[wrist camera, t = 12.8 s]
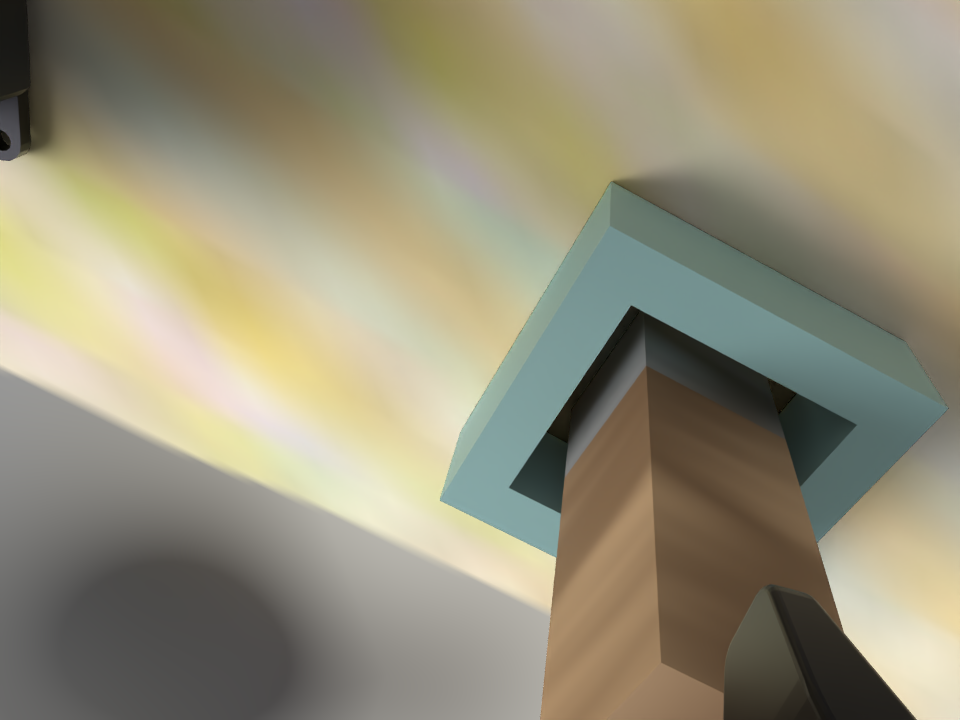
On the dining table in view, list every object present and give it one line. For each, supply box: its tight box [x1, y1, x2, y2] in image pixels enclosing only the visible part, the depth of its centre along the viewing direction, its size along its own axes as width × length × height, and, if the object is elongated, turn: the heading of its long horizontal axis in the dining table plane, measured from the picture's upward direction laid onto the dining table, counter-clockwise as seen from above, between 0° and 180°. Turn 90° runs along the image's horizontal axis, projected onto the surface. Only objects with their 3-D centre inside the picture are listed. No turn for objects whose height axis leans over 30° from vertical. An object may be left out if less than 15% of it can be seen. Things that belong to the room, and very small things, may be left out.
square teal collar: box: [440, 182, 949, 558], centre depth 20 cm, size 8×8×3 cm
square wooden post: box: [540, 310, 844, 720], centre depth 17 cm, size 4×4×11 cm
